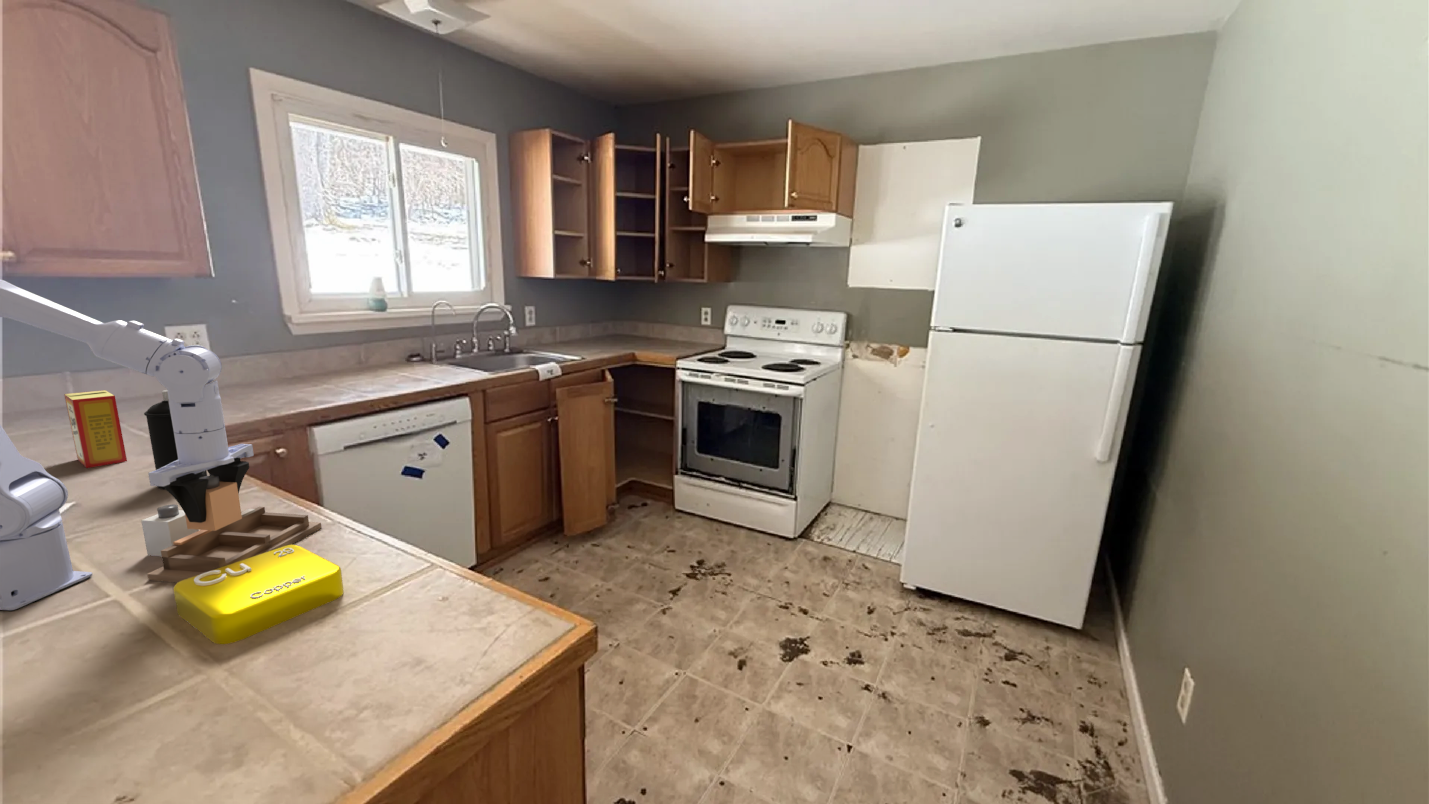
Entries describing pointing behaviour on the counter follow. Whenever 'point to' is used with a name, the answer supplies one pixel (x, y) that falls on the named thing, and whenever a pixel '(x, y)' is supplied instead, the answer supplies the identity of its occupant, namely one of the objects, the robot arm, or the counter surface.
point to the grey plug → (164, 529)
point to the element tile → (257, 593)
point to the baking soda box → (95, 428)
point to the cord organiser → (231, 543)
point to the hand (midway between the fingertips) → (213, 514)
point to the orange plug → (219, 505)
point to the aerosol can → (163, 435)
